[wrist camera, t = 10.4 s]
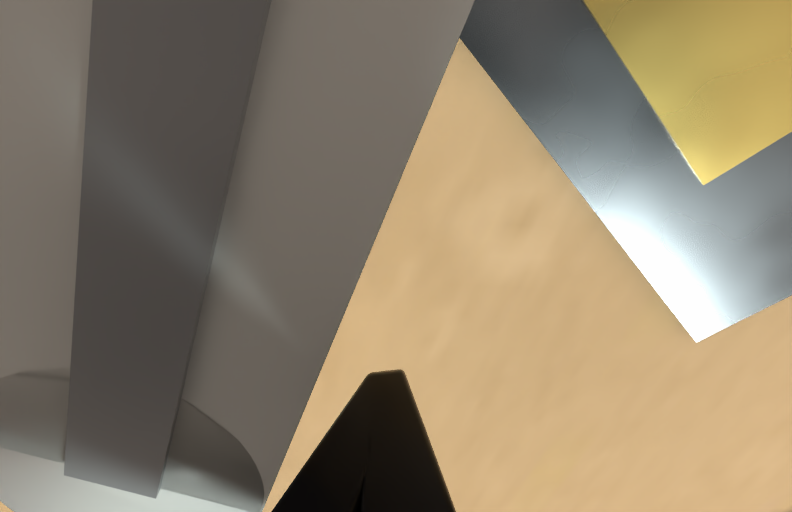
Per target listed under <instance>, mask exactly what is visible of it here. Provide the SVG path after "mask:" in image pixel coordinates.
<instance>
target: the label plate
mask: <svg viewBox="0 0 792 512" xmlns="http://www.w3.org/2000/svg"><path fill="white" fill-rule="evenodd" d="M460 39H461V40H462V41H463V43H464V44H465V45H466V46H467V48H468V49H469V50H470V52H471V53H472V54H473V56H474V57H475V58H476V59H477V61H478V62H479V63H480V65H481V66H482V67H483V68H484V70H485V71H486V72H487V74H488V75H489V76H490V77H491V79H492V80H493V81H494V83H495V84H496V85H497V86H498V88H499V89H500V90H501V92H502V93H503V94H504V95H505V97H506V98H507V99H508V101H509V102H510V103H511V104H512V106H513V107H514V108H515V110H516V111H517V112H518V114H519V115H520V116H521V117H522V119H523V120H524V121H525V123H526V124H527V125H528V126H529V128H530V129H531V130H532V132H533V133H534V134H535V135H536V137H537V138H538V139H539V141H540V142H541V143H542V144H543V146H544V147H545V148H546V150H547V151H548V152H549V153H550V155H551V156H552V157H553V159H554V160H555V161H556V162H557V164H558V165H559V166H560V168H561V169H562V170H563V172H564V173H565V174H566V175H567V177H568V178H569V179H570V181H571V182H572V183H573V184H574V186H575V187H576V188H577V190H578V191H579V192H580V193H581V195H582V196H583V197H584V199H585V200H586V201H587V202H588V204H589V205H590V206H591V208H592V209H593V210H594V211H595V213H596V214H597V215H598V217H599V218H600V219H601V220H602V222H603V223H604V224H605V226H606V227H607V228H608V230H609V231H610V232H611V233H612V235H613V236H614V237H615V239H616V240H617V241H618V242H619V244H620V245H621V246H622V248H623V249H624V250H625V251H626V253H627V254H628V255H629V257H630V258H631V259H632V260H633V262H634V263H635V264H636V266H637V267H638V268H639V269H640V271H641V272H642V273H643V275H644V276H645V277H646V278H647V280H648V281H649V282H650V284H651V285H652V286H653V288H654V289H655V290H656V291H657V293H658V294H659V295H660V297H661V298H662V299H663V300H664V302H665V303H666V304H667V306H668V307H669V308H670V309H671V311H672V312H673V313H674V315H675V316H676V317H677V318H678V320H679V321H680V322H681V324H682V325H683V326H684V327H685V329H686V330H687V331H688V333H689V334H690V335H691V336H692V338H693V339H694V340H695V342H696V343H697V342H699V341H701V340H703V339H705V338H707V337H709V336H711V335H713V334H715V333H717V332H719V331H721V330H723V329H725V328H727V327H729V326H731V325H733V324H735V323H737V322H739V321H741V320H743V319H745V318H747V317H749V316H751V315H753V314H755V313H757V312H759V311H761V310H763V309H765V308H767V307H769V306H771V305H773V304H775V303H777V302H779V301H781V300H783V299H785V298H787V297H789V296H791V295H792V0H475V1H474V3H473V6H472V8H471V10H470V13H469V15H468V18H467V20H466V22H465V25H464V27H463V30H462V32H461V34H460Z"/></svg>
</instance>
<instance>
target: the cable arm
mask: <svg viewBox="0 0 792 512" xmlns="http://www.w3.org/2000/svg"><path fill="white" fill-rule="evenodd" d="M474 1H475V0H0V501H1V502H2V503H3V504H4V505H6V506H7V507H8V508H10V509H11V510H13V511H14V512H262V510H263V508H264V506H265V503H266V501H267V498H268V496H269V494H270V491H271V489H272V486H273V484H274V482H275V479H276V477H277V474H278V472H279V470H280V467H281V465H282V462H283V460H284V458H285V455H286V453H287V450H288V448H289V446H290V443H291V441H292V438H293V436H294V434H295V431H296V429H297V426H298V424H299V421H300V419H301V417H302V414H303V412H304V409H305V407H306V405H307V402H308V400H309V397H310V395H311V393H312V390H313V388H314V385H315V383H316V381H317V378H318V376H319V373H320V371H321V369H322V366H323V364H324V361H325V359H326V357H327V354H328V352H329V349H330V347H331V345H332V342H333V340H334V337H335V335H336V333H337V330H338V328H339V325H340V323H341V321H342V318H343V316H344V313H345V311H346V309H347V306H348V304H349V301H350V299H351V296H352V294H353V292H354V289H355V287H356V284H357V282H358V280H359V277H360V275H361V272H362V270H363V268H364V265H365V263H366V260H367V258H368V256H369V253H370V251H371V248H372V246H373V244H374V241H375V239H376V236H377V234H378V232H379V229H380V227H381V224H382V222H383V220H384V217H385V215H386V212H387V210H388V208H389V205H390V203H391V200H392V198H393V196H394V193H395V191H396V188H397V186H398V183H399V181H400V179H401V176H402V174H403V171H404V169H405V167H406V164H407V162H408V159H409V157H410V155H411V152H412V150H413V147H414V145H415V143H416V140H417V138H418V135H419V133H420V131H421V128H422V126H423V123H424V121H425V119H426V116H427V114H428V111H429V109H430V107H431V104H432V102H433V99H434V97H435V95H436V92H437V90H438V87H439V85H440V83H441V80H442V78H443V75H444V73H445V71H446V68H447V66H448V63H449V61H450V58H451V56H452V54H453V51H454V49H455V46H456V44H457V42H458V39H459V37H460V34H461V32H462V30H463V27H464V25H465V22H466V20H467V18H468V15H469V13H470V10H471V8H472V6H473V3H474Z"/></svg>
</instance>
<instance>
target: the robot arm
mask: <svg viewBox="0 0 792 512" xmlns="http://www.w3.org/2000/svg"><path fill="white" fill-rule="evenodd" d="M272 512H456V511H455V508H454V505H453V502H452V500H451V497H450V494H449V492H448V489H447V486H446V483H445V481H444V478H443V475H442V473H441V470H440V467H439V465H438V462H437V459H436V456H435V454H434V451H433V448H432V446H431V443H430V440H429V437H428V435H427V432H426V429H425V427H424V424H423V421H422V418H421V416H420V413H419V410H418V408H417V405H416V402H415V399H414V397H413V394H412V391H411V389H410V386H409V383H408V381H407V378H406V375H405V373H404V371H403V370H390V371H381V372H372V373H370V374H368V375H367V376H366V378H365V379H364V381H363V382H362V383H361V385H360V386H359V388H358V389H357V391H356V392H355V393H354V395H353V396H352V398H351V399H350V401H349V402H348V403H347V405H346V406H345V408H344V409H343V411H342V412H341V413H340V415H339V416H338V418H337V419H336V421H335V422H334V423H333V425H332V426H331V428H330V429H329V431H328V432H327V433H326V435H325V436H324V438H323V439H322V440H321V442H320V443H319V445H318V446H317V448H316V449H315V450H314V452H313V453H312V455H311V456H310V458H309V459H308V460H307V462H306V463H305V465H304V466H303V468H302V469H301V470H300V472H299V473H298V475H297V476H296V478H295V479H294V480H293V482H292V483H291V485H290V486H289V488H288V489H287V490H286V492H285V493H284V495H283V496H282V498H281V499H280V500H279V502H278V503H277V505H276V506H275V508H274V509H273V510H272Z"/></svg>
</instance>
